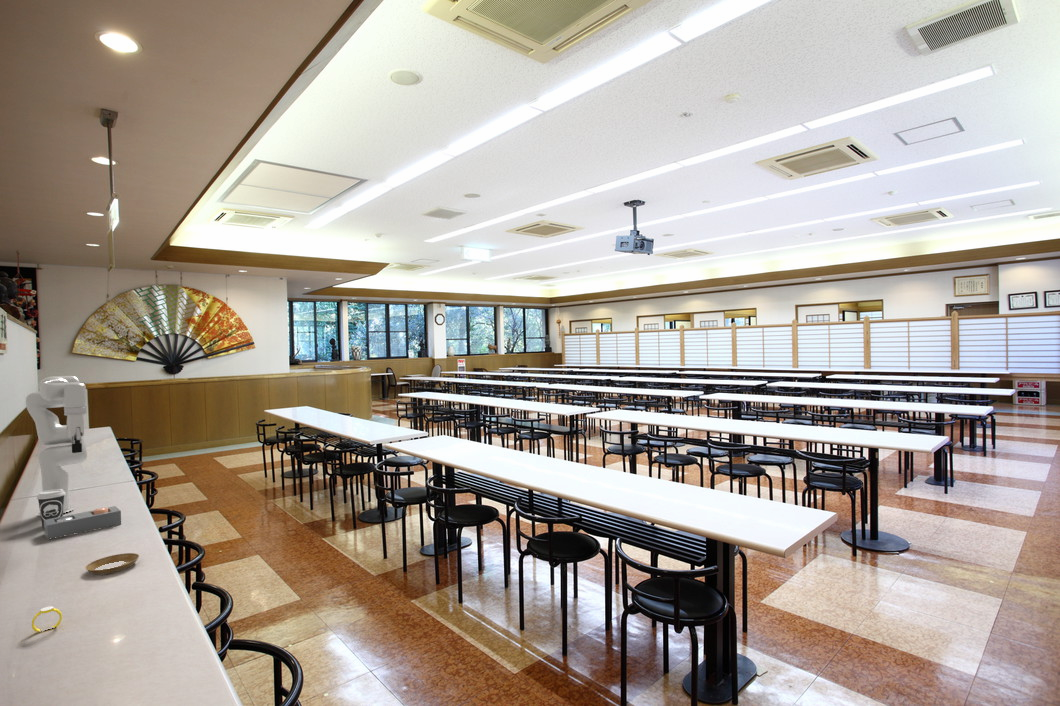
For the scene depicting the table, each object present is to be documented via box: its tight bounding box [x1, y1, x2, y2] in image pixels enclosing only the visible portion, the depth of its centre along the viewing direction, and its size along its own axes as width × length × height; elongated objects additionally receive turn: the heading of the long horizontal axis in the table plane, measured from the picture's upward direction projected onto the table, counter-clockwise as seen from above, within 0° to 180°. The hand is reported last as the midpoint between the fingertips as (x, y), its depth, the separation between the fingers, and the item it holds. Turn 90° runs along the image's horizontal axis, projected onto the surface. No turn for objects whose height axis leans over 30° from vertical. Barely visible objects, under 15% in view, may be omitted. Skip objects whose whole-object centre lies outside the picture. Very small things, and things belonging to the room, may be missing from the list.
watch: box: [31, 605, 63, 633], centre depth 143 cm, size 6×3×6 cm, turn 130°
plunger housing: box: [43, 505, 122, 540], centre depth 226 cm, size 11×24×6 cm, turn 139°
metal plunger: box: [57, 517, 73, 522], centre depth 221 cm, size 5×5×6 cm
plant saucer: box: [84, 552, 140, 576], centre depth 184 cm, size 15×15×3 cm
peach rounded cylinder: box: [92, 507, 108, 515], centre depth 230 cm, size 5×5×6 cm
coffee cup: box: [36, 489, 66, 528], centre depth 232 cm, size 10×10×15 cm
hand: (77, 452), depth 232 cm, fingers closed
